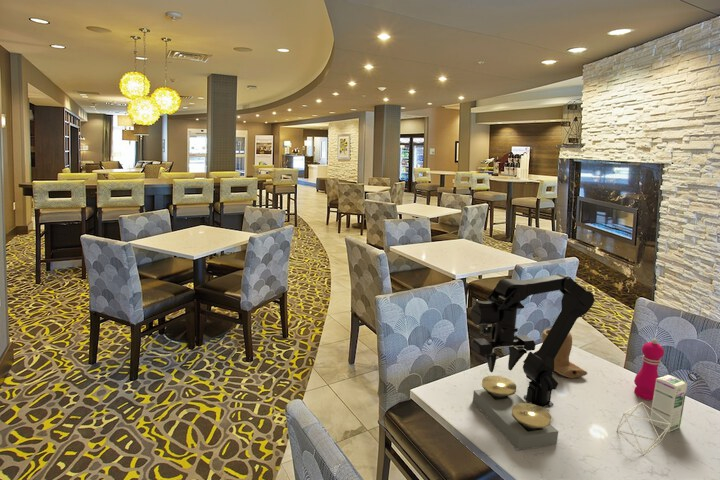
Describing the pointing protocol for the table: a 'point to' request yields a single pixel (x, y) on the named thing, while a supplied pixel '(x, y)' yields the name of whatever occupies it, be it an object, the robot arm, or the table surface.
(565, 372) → the tan boot
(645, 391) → the pepper mill
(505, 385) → the knob
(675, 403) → the syrup box
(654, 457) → the table surface
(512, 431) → the panel
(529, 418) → the knob
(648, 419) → the geometric polyhedron
